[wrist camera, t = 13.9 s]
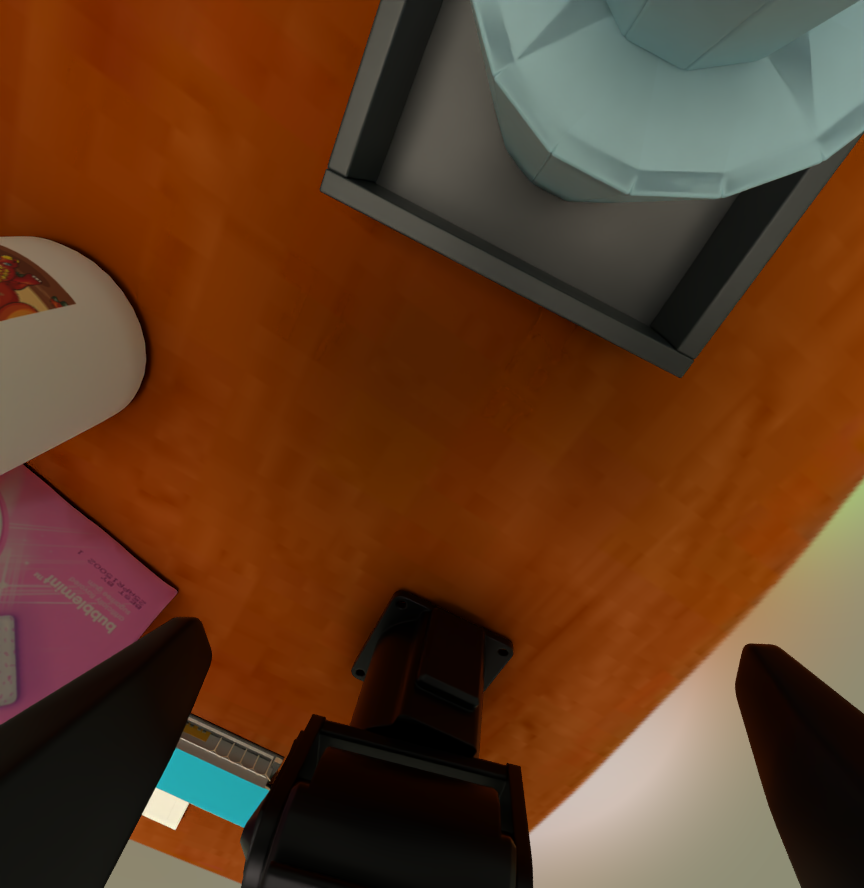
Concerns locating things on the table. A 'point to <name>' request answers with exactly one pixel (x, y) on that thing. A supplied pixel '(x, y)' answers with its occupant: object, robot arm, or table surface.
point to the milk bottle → (60, 347)
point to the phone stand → (212, 776)
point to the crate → (542, 199)
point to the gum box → (62, 593)
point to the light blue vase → (671, 92)
